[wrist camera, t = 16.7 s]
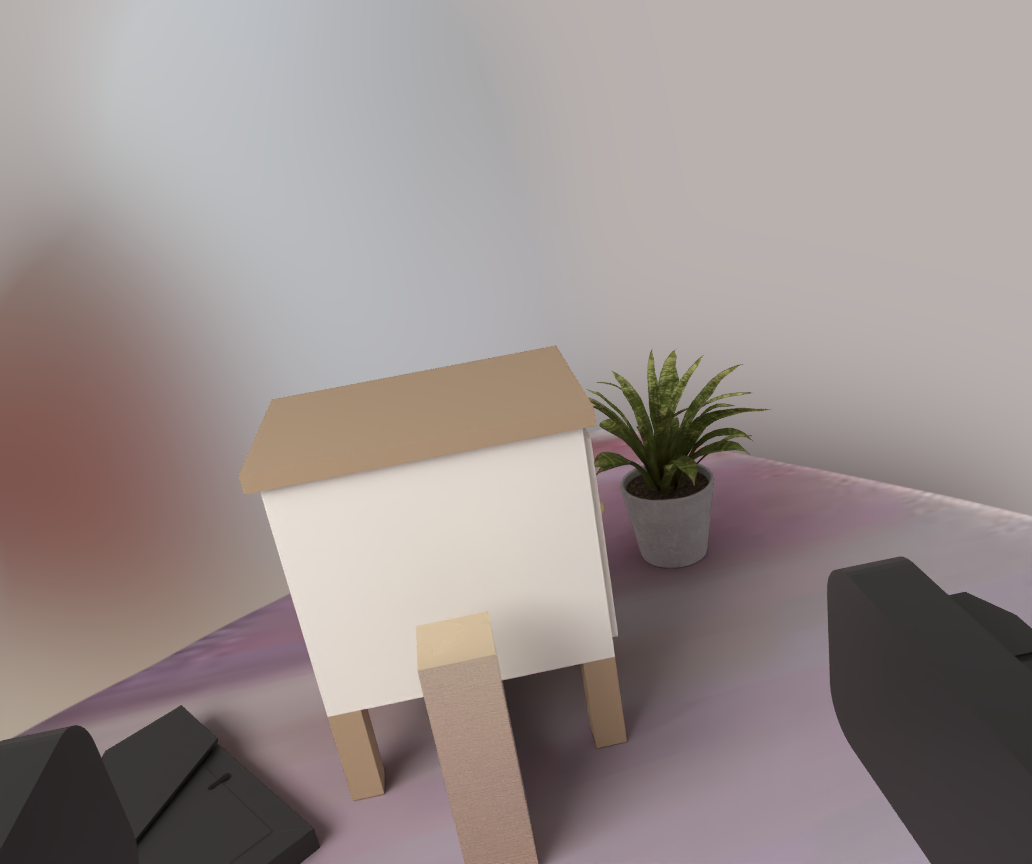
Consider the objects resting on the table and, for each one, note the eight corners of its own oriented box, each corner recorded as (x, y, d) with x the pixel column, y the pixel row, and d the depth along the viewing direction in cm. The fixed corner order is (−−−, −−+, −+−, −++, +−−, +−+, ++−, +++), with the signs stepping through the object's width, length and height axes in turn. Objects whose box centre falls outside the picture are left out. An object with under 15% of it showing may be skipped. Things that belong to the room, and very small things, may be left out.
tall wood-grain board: (498, 640, 62) (465, 475, 57) (539, 869, 43) (495, 654, 39) (449, 650, 62) (412, 485, 57) (470, 884, 43) (417, 670, 38)
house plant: (652, 636, 59) (625, 414, 53) (542, 561, 71) (510, 371, 65) (800, 556, 66) (791, 348, 59) (677, 499, 77) (659, 320, 71)
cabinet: (607, 633, 60) (566, 343, 53) (649, 744, 50) (605, 404, 42) (352, 686, 60) (271, 399, 52) (341, 811, 49) (238, 475, 41)
